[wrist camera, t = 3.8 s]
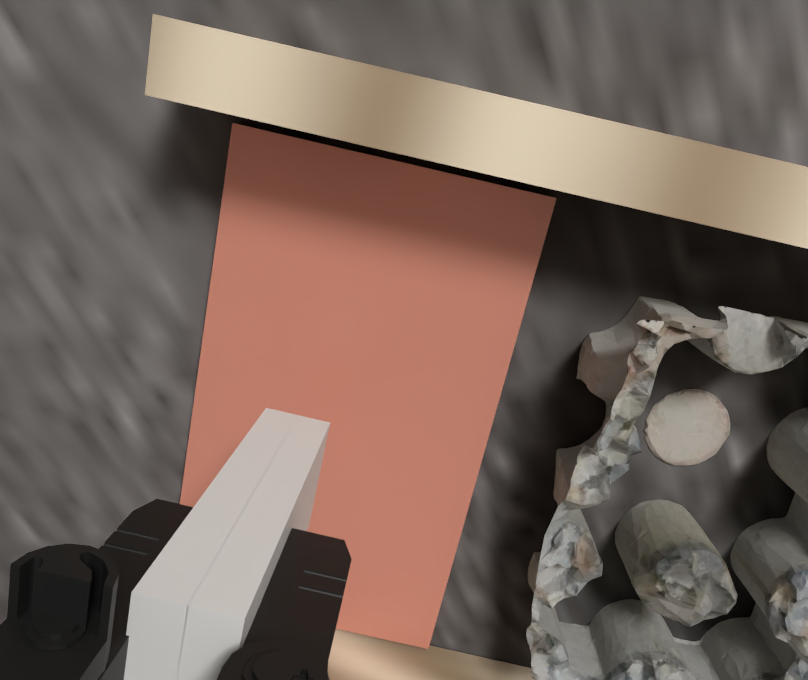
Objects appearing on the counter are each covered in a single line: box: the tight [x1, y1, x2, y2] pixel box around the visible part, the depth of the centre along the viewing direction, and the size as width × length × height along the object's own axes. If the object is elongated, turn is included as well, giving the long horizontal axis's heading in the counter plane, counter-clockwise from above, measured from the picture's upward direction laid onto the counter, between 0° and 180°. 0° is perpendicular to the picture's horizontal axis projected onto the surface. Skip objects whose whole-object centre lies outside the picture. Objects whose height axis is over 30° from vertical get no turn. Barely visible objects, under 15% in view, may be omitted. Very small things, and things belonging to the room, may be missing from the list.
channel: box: [145, 14, 808, 680], centre depth 16 cm, size 22×17×3 cm
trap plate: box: [180, 123, 556, 649], centre depth 18 cm, size 8×14×1 cm, turn 167°
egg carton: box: [526, 296, 808, 680], centre depth 16 cm, size 11×8×4 cm
